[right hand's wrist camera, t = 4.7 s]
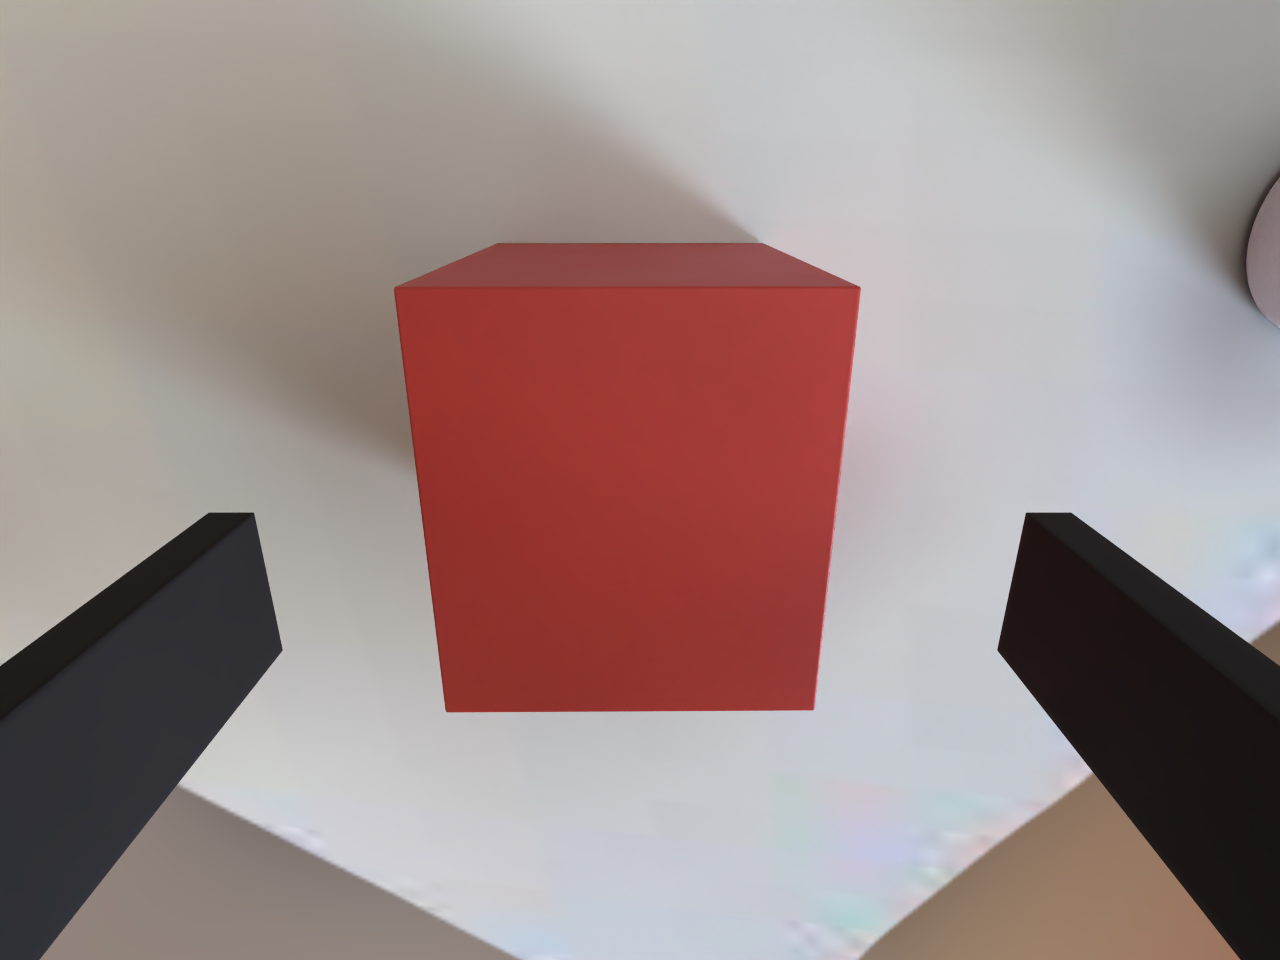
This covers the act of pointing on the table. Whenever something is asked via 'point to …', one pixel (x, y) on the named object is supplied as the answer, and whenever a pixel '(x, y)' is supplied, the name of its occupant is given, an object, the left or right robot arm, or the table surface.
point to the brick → (628, 472)
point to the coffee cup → (1266, 257)
